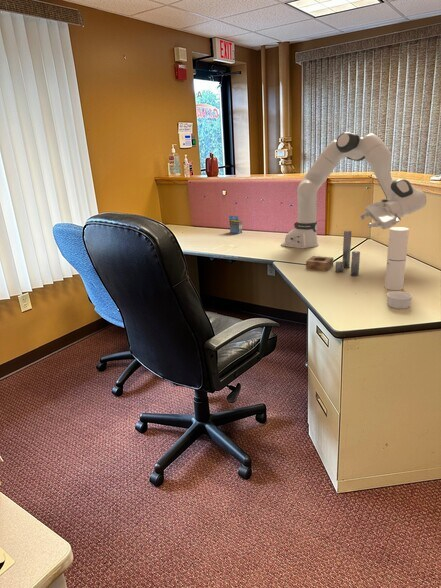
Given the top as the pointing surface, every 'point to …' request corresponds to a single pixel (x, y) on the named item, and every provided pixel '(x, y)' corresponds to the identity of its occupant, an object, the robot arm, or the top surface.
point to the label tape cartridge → (235, 225)
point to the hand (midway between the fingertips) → (364, 221)
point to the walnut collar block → (319, 263)
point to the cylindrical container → (396, 258)
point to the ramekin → (399, 299)
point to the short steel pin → (339, 267)
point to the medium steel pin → (355, 263)
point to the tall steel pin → (346, 249)
